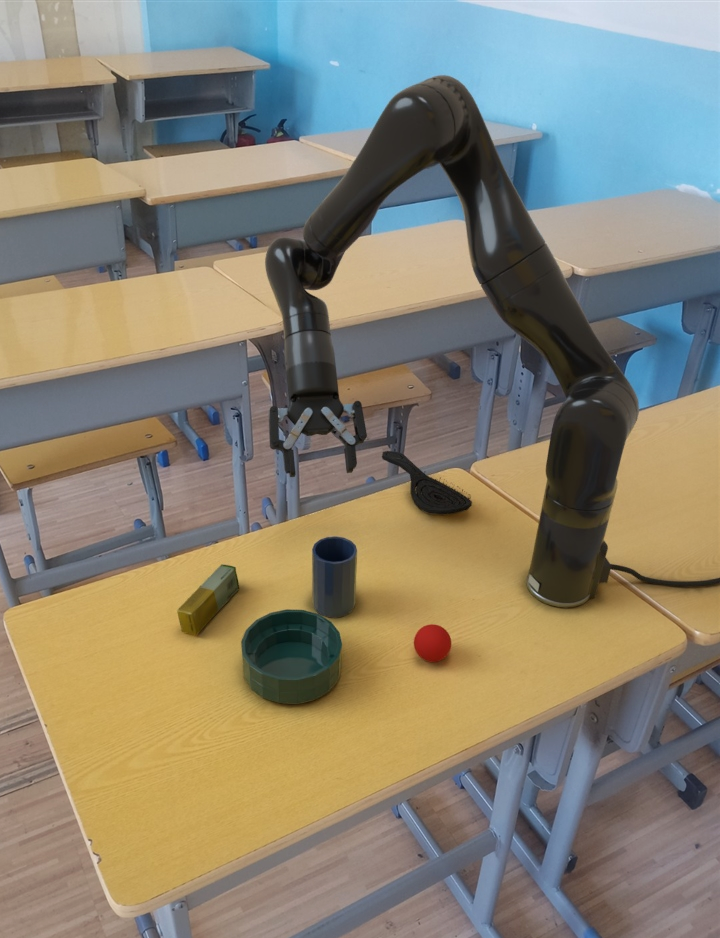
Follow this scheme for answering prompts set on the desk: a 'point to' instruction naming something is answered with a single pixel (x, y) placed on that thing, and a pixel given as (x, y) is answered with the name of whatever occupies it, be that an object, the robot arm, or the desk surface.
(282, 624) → the bowl
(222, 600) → the medication box
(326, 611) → the pencil cup
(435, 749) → the desk surface
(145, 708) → the desk surface
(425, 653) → the ball
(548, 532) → the robot arm
